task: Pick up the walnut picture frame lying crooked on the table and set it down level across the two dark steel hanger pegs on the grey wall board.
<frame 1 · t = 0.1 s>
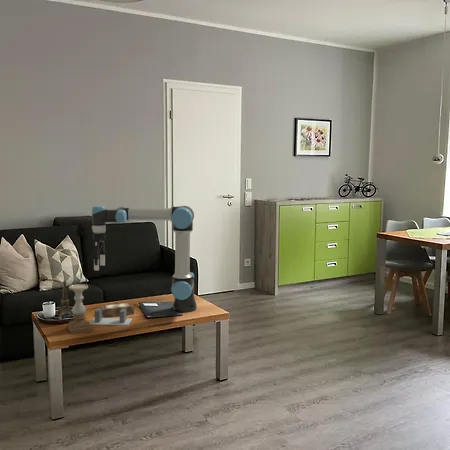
hand: (99, 267, 300), 28 cm above the table, fingers open, 13 cm apart
eiffel tower: (65, 316, 298), on the table
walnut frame: (117, 314, 304), on the table
candle holder: (79, 329, 276), on the table
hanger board: (110, 322, 288), on the table
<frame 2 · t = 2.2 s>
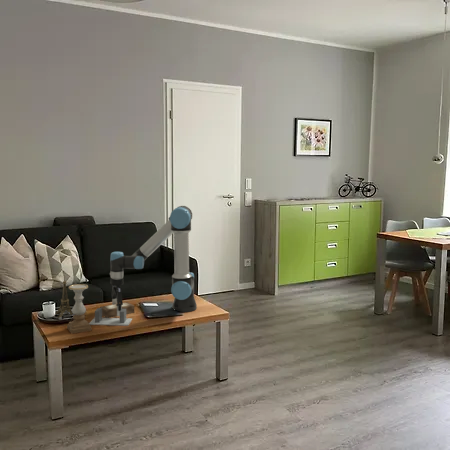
hand: (116, 312, 304), 1 cm above the table, fingers open, 13 cm apart
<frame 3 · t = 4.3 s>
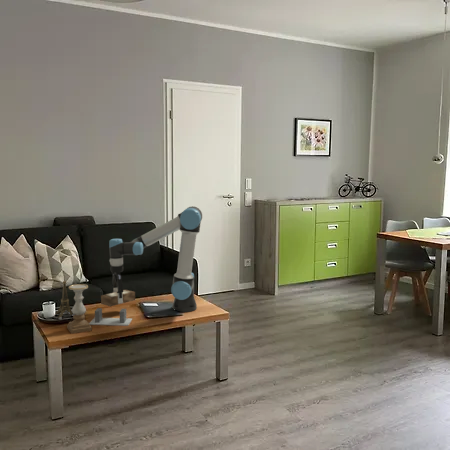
hand: (118, 300, 303), 8 cm above the table, fingers closed on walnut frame, 11 cm apart
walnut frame: (118, 301, 303), point 7 cm above the table, touching gripper
everything else where it was.
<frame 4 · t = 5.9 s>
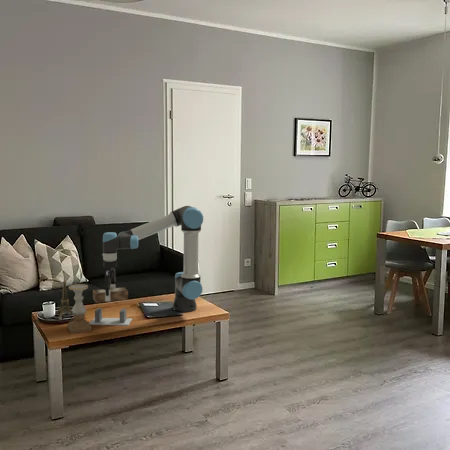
hand: (110, 298, 286), 14 cm above the table, fingers closed on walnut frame, 11 cm apart
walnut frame: (110, 299, 287), point 13 cm above the table, touching gripper
everything else where it was.
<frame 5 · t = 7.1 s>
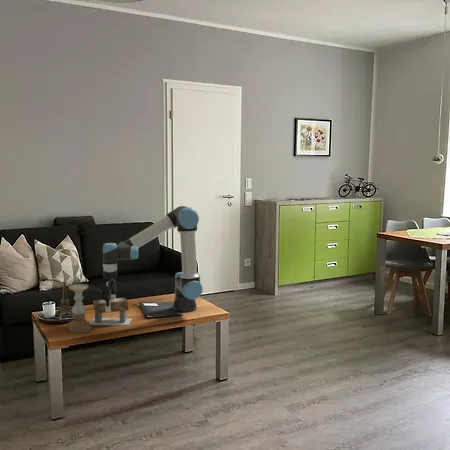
hand: (110, 308, 287), 8 cm above the table, fingers closed on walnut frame, 11 cm apart
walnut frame: (110, 309, 287), point 7 cm above the table, touching gripper
everything else where it was.
when the fingers open (8 cm above the table, at t = 7.9 s): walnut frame stays where it is, resting on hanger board.
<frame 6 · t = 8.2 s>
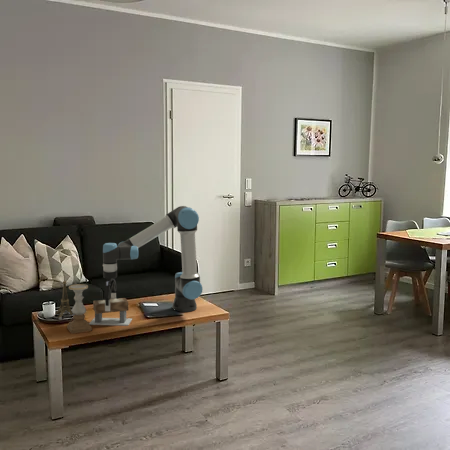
hand: (110, 307, 287), 8 cm above the table, fingers open, 13 cm apart
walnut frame: (110, 309, 287), point 7 cm above the table, touching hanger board
everything else where it was.
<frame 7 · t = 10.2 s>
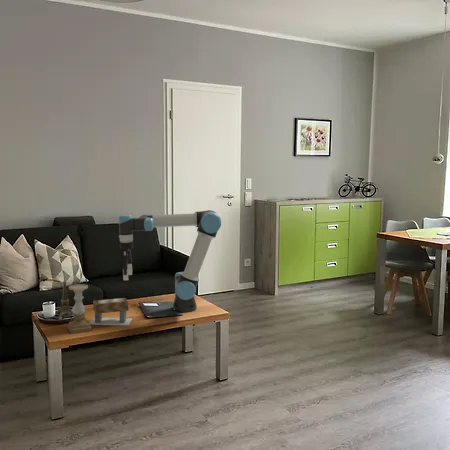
hand: (127, 277, 296), 23 cm above the table, fingers open, 13 cm apart
nothing on the table moved.
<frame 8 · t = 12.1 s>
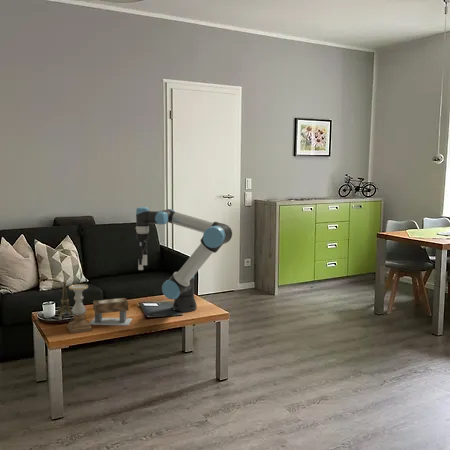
hand: (142, 267, 308), 27 cm above the table, fingers open, 13 cm apart
nothing on the table moved.
at the end: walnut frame 0.1 cm off-centre on the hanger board, point 7.1 cm above the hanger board's base; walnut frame tilted 0°; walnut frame touching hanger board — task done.
